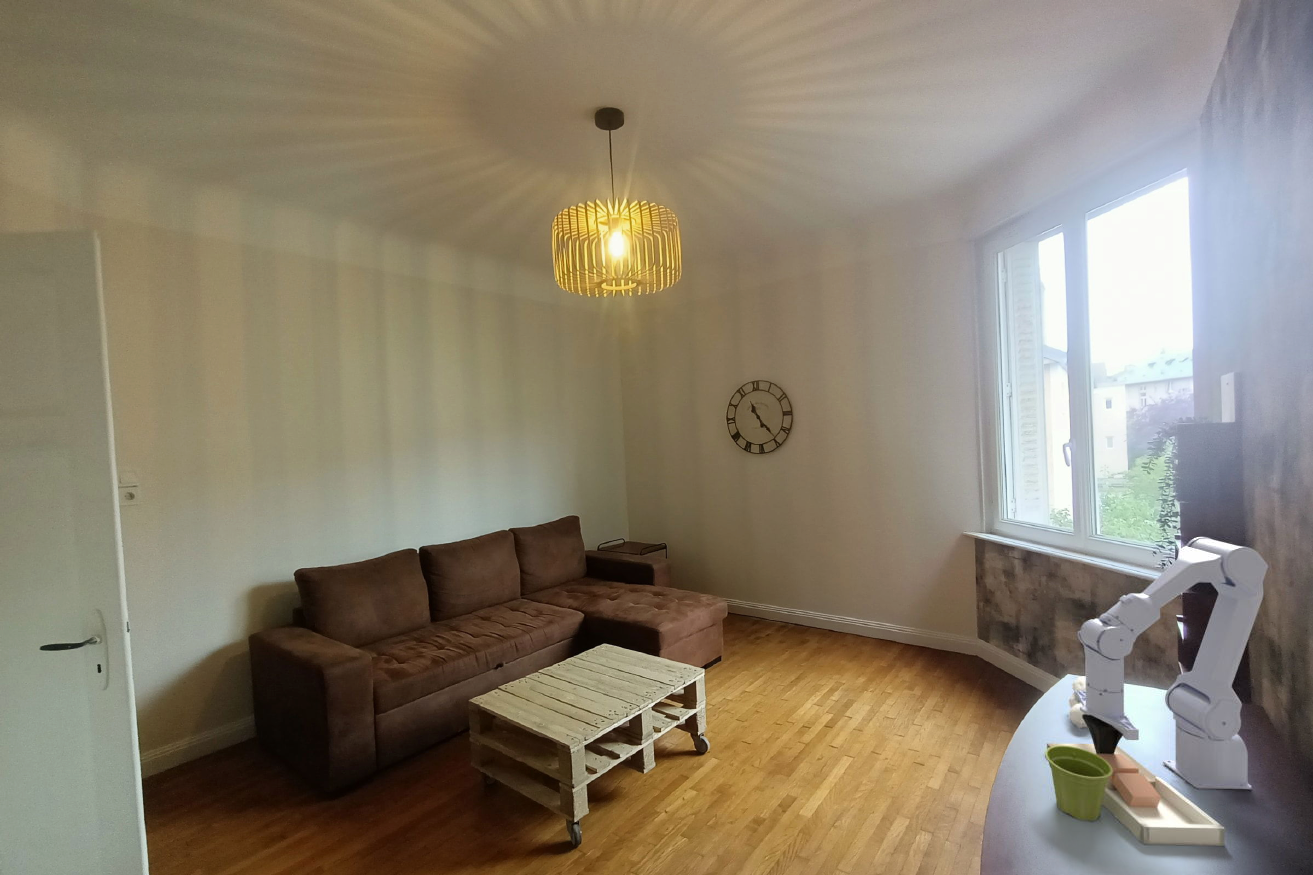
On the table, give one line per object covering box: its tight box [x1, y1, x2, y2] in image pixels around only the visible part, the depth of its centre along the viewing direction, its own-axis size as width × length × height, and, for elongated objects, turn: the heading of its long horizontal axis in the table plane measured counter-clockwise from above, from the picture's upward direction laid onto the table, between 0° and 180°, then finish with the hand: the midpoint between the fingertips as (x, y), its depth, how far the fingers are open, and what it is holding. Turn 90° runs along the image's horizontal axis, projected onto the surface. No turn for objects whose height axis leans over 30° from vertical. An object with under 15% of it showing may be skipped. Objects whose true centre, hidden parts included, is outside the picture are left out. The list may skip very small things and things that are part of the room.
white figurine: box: [1066, 675, 1088, 729], centre depth 129 cm, size 6×8×12 cm
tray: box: [1102, 776, 1226, 847], centre depth 99 cm, size 12×13×3 cm
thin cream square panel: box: [1046, 742, 1157, 790], centre depth 111 cm, size 13×12×2 cm
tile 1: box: [1096, 754, 1139, 782], centre depth 107 cm, size 4×4×2 cm
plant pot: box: [1044, 746, 1113, 822], centre depth 101 cm, size 9×9×9 cm
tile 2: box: [1113, 773, 1161, 807], centre depth 102 cm, size 4×4×2 cm
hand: (1104, 756), depth 110 cm, fingers closed
